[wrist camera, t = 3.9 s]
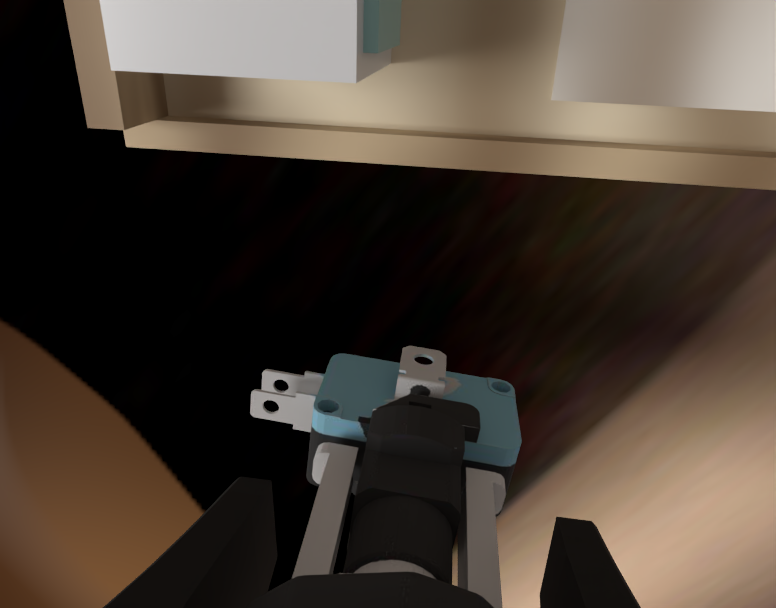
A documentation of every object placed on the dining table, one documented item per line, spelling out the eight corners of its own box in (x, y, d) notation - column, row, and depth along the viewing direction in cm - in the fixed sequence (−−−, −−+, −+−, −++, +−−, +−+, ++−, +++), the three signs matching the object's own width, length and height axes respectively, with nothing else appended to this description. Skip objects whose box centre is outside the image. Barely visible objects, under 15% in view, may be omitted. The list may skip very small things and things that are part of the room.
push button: (264, 445, 17) (42, 932, 8) (273, 276, 14) (-31, 696, 5) (495, 488, 17) (540, 1039, 8) (543, 322, 14) (690, 841, 5)
